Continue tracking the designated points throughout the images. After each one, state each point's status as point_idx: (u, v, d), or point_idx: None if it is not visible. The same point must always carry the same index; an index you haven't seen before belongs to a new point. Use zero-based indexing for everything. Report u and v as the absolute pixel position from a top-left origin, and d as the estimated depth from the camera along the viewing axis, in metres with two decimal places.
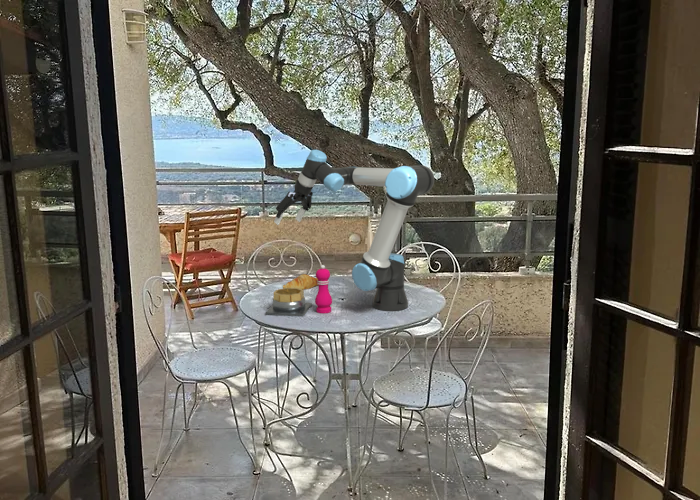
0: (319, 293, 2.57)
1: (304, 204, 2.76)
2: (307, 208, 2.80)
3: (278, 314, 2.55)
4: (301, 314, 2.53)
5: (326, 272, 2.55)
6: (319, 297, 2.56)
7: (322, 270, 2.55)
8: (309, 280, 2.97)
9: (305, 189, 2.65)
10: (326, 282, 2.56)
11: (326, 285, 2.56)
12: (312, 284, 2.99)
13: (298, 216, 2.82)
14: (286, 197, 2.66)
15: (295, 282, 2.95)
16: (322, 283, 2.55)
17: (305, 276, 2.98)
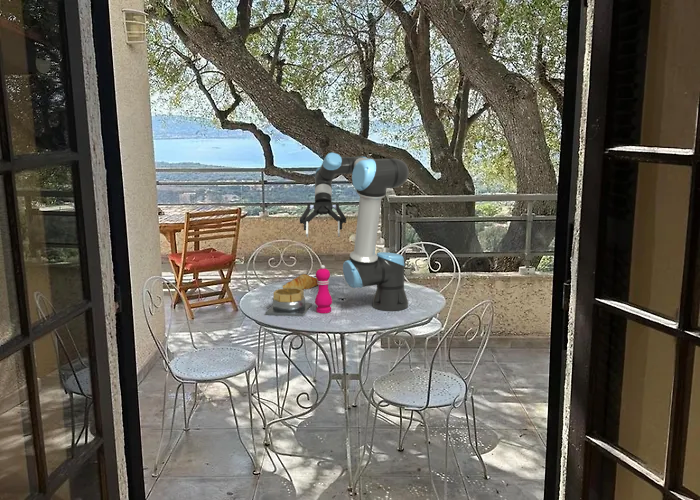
0: (319, 293, 2.57)
1: (333, 214, 2.69)
2: (341, 219, 2.68)
3: (278, 314, 2.55)
4: (301, 314, 2.53)
5: (326, 272, 2.55)
6: (319, 297, 2.56)
7: (322, 270, 2.55)
8: (309, 280, 2.97)
9: (318, 194, 2.73)
10: (326, 282, 2.56)
11: (326, 285, 2.56)
12: (312, 284, 2.99)
13: None
14: None
15: (295, 282, 2.95)
16: (322, 283, 2.55)
17: (305, 276, 2.98)
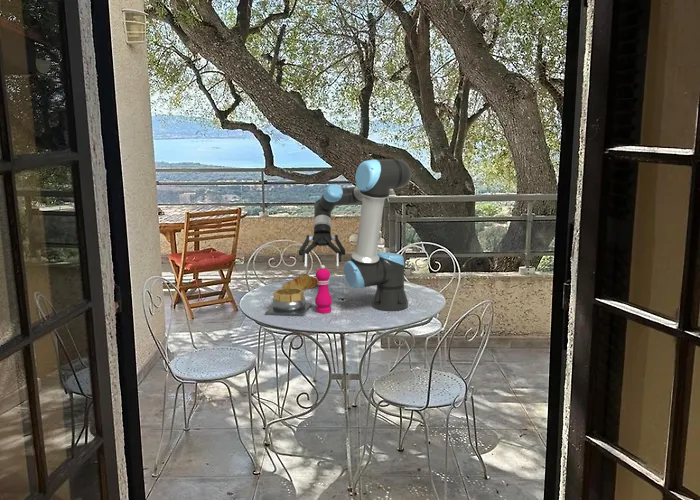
0: (319, 293, 2.57)
1: (332, 246, 2.68)
2: None
3: (278, 314, 2.55)
4: (301, 314, 2.53)
5: (326, 272, 2.55)
6: (319, 297, 2.56)
7: (322, 270, 2.55)
8: (309, 280, 2.97)
9: (317, 225, 2.72)
10: (326, 282, 2.56)
11: (326, 285, 2.56)
12: (312, 284, 2.98)
13: None
14: None
15: (294, 282, 2.95)
16: (322, 283, 2.55)
17: (305, 276, 2.98)
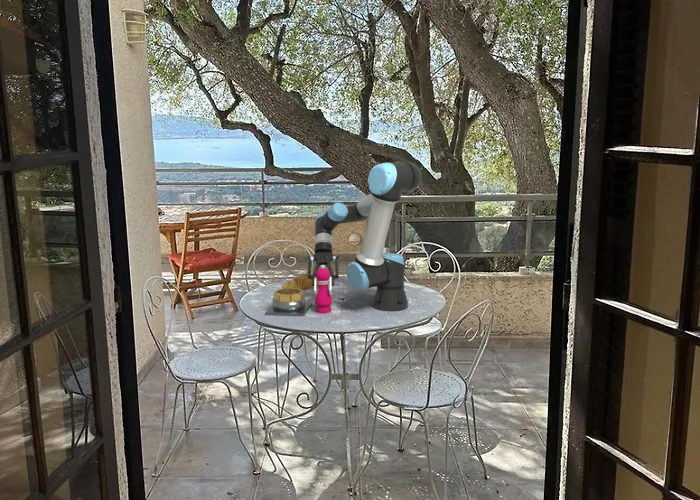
0: (319, 293, 2.57)
1: (328, 267, 2.60)
2: (333, 275, 2.58)
3: (278, 314, 2.55)
4: (301, 314, 2.53)
5: (326, 272, 2.55)
6: (319, 297, 2.56)
7: (322, 270, 2.55)
8: (308, 280, 2.96)
9: (318, 244, 2.64)
10: (326, 282, 2.56)
11: (326, 285, 2.56)
12: None
13: None
14: None
15: (294, 282, 2.95)
16: (322, 283, 2.55)
17: (305, 276, 2.97)
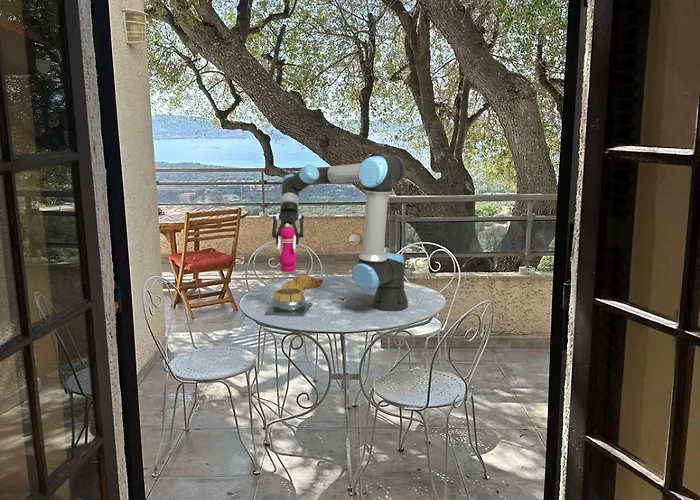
0: (283, 251, 2.56)
1: (293, 226, 2.59)
2: (298, 234, 2.57)
3: (278, 314, 2.55)
4: (301, 314, 2.53)
5: (290, 230, 2.54)
6: (283, 255, 2.56)
7: (286, 228, 2.54)
8: (308, 281, 2.96)
9: (283, 203, 2.64)
10: (290, 240, 2.55)
11: (290, 243, 2.56)
12: (311, 285, 2.98)
13: None
14: None
15: (294, 282, 2.95)
16: (286, 241, 2.55)
17: (305, 276, 2.97)
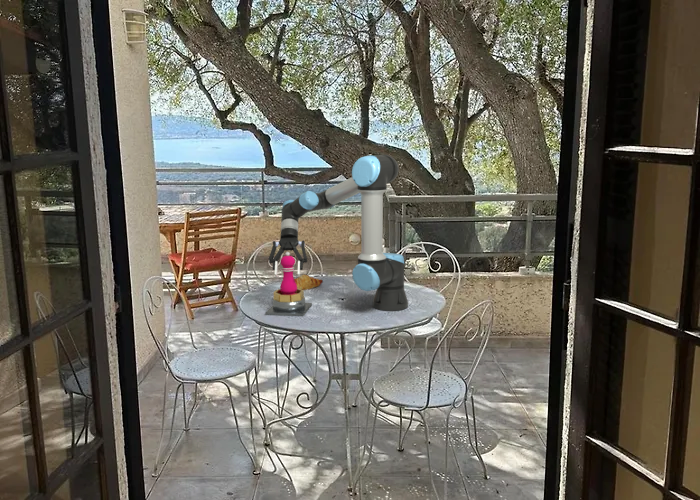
0: (284, 280, 2.58)
1: (296, 252, 2.61)
2: None
3: (278, 314, 2.55)
4: (301, 314, 2.53)
5: (291, 259, 2.56)
6: (283, 284, 2.58)
7: (287, 257, 2.56)
8: (308, 281, 2.96)
9: (283, 230, 2.66)
10: (291, 269, 2.57)
11: (291, 272, 2.58)
12: (311, 285, 2.97)
13: None
14: None
15: None
16: (287, 270, 2.57)
17: (304, 277, 2.97)
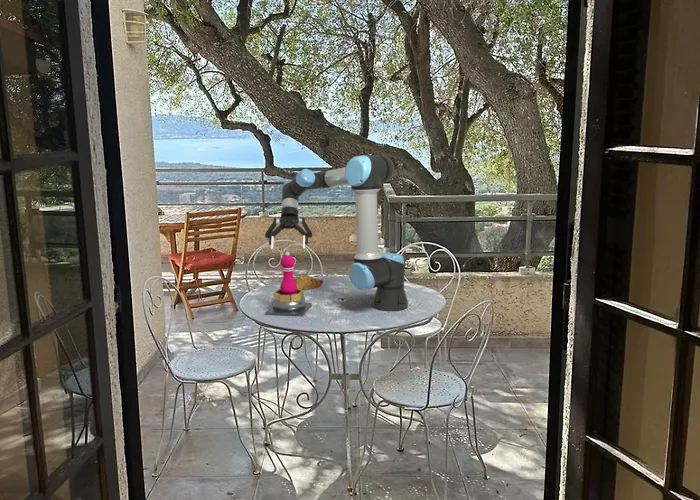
0: (284, 280, 2.58)
1: (299, 229, 2.68)
2: None
3: (278, 314, 2.55)
4: (301, 314, 2.53)
5: (290, 259, 2.56)
6: (283, 284, 2.58)
7: (286, 257, 2.57)
8: (308, 281, 2.95)
9: (284, 208, 2.72)
10: (291, 269, 2.57)
11: (291, 272, 2.58)
12: (311, 285, 2.97)
13: None
14: None
15: None
16: (286, 270, 2.57)
17: (304, 277, 2.97)
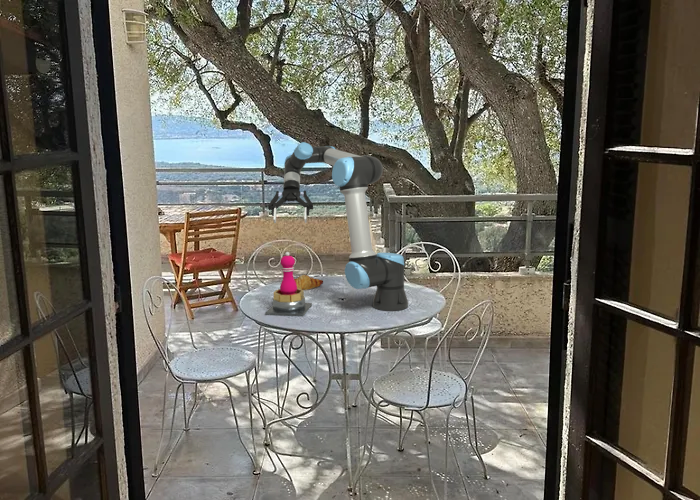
0: (284, 280, 2.58)
1: (300, 201, 2.78)
2: None
3: (278, 314, 2.55)
4: (301, 314, 2.53)
5: (290, 259, 2.56)
6: (283, 284, 2.58)
7: (286, 257, 2.57)
8: (307, 281, 2.95)
9: (286, 182, 2.82)
10: (291, 269, 2.57)
11: (291, 272, 2.58)
12: (311, 285, 2.96)
13: None
14: None
15: None
16: (286, 270, 2.57)
17: (304, 277, 2.96)
